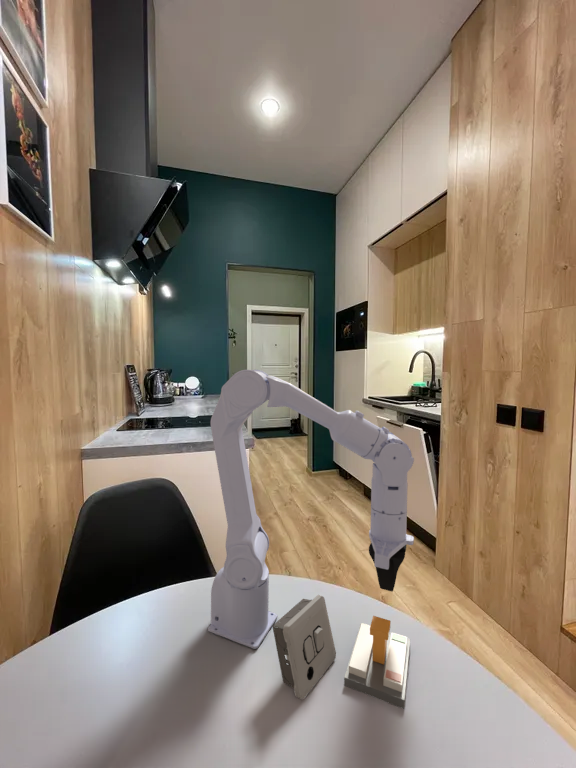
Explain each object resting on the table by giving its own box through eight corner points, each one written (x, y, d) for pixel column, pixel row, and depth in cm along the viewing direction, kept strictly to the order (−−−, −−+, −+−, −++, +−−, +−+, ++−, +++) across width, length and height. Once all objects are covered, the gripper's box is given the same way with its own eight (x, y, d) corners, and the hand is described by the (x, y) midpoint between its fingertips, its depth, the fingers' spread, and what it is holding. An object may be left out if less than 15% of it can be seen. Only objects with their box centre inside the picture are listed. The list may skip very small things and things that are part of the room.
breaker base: (344, 685, 48) (344, 669, 48) (360, 630, 58) (360, 617, 58) (404, 708, 45) (404, 692, 45) (410, 646, 55) (410, 632, 55)
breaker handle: (369, 660, 50) (369, 628, 50) (372, 646, 53) (373, 615, 53) (387, 667, 49) (388, 633, 49) (389, 652, 52) (390, 620, 52)
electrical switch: (301, 705, 45) (296, 634, 45) (271, 685, 48) (267, 619, 48) (337, 658, 52) (333, 597, 53) (309, 644, 56) (306, 587, 56)
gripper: (411, 531, 48) (408, 624, 49) (416, 496, 61) (414, 570, 62) (361, 522, 51) (359, 610, 51) (376, 490, 64) (375, 561, 65)
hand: (386, 587), depth 57 cm, fingers closed
